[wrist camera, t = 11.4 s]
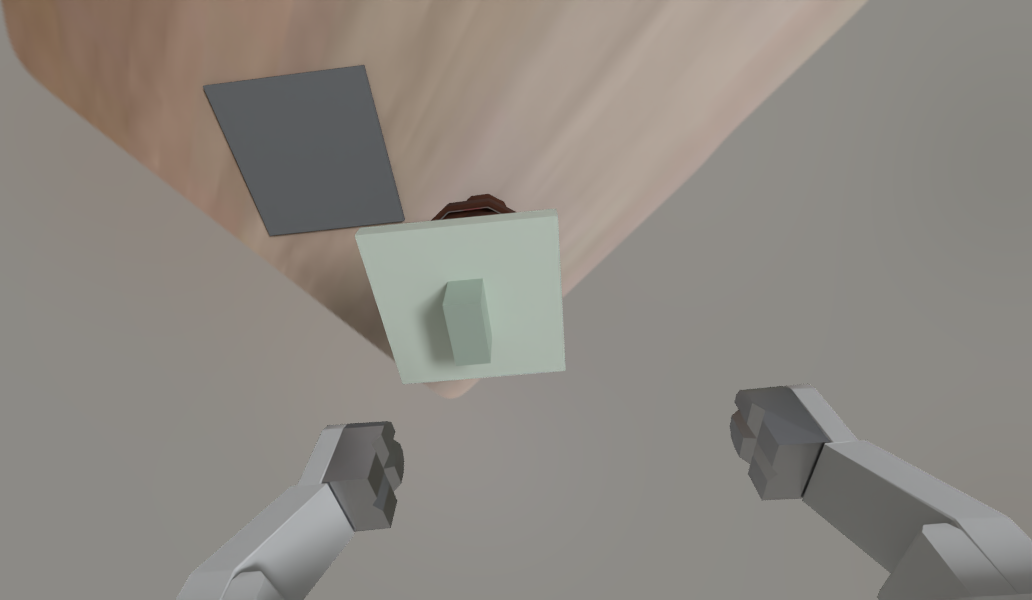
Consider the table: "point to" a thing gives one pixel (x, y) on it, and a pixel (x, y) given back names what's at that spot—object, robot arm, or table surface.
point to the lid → (469, 294)
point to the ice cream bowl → (473, 208)
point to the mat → (309, 149)
